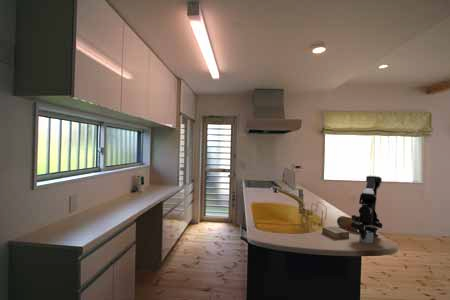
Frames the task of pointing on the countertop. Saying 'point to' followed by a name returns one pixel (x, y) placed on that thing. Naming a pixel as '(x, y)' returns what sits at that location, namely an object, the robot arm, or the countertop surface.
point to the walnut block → (335, 232)
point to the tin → (346, 223)
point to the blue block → (367, 237)
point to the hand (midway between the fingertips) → (366, 239)
